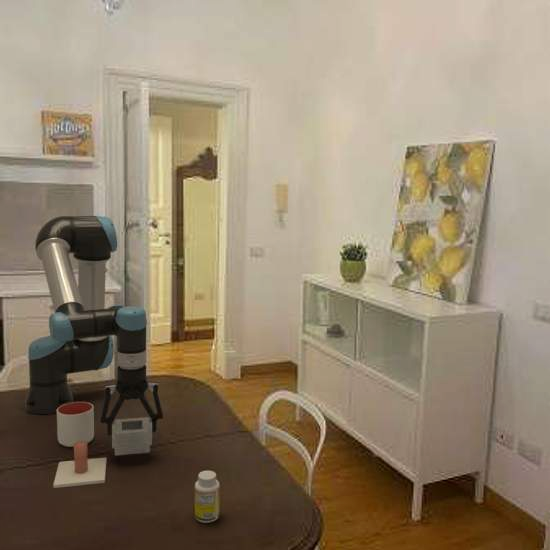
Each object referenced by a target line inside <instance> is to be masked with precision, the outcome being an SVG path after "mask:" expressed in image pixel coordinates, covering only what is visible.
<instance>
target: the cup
mask: <svg viewBox="0 0 550 550" xmlns="http://www.w3.org/2000/svg"><path fill="white" fill-rule="evenodd" d="M94 411H95V410H94V405H93V404H92V403H90V402H86V401H75V402H74V401H73V402H72V403H68V404H64V405H62V406H60V407H59V408H58V409H57V413H56V426H57V429H56V430H57V442H58V443H59V444H60V445H62V446H64V447H68V448H74V444H75V443H77V442H81V441H83V442H87V444H89V443H90V442H91V441H93V439H94V437H95V419H94V418H95V415H94Z"/></svg>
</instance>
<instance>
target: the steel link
mask: <svg viewBox="0 0 550 550" xmlns="http://www.w3.org/2000/svg"><path fill="white" fill-rule="evenodd" d="M149 418H150V416H149V417H146V416H145V417H134V418H132V417H131V418H120V419H119V418H118V419H117V418H115V419H114V421H115V448H114V456H124V455H125V456H126V455H135V454H149V453H151V445H150V427H149Z"/></svg>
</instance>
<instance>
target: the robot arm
mask: <svg viewBox="0 0 550 550" xmlns="http://www.w3.org/2000/svg"><path fill="white" fill-rule="evenodd" d="M34 247H35V252H36V256H37V257H38V259H39V260H40V261H41V262H42V266H43V270H44V274H45V277H46V282H47V286H48V290H49V294H50V298H51V302H52V306H53V311H54V313H51V314H50V315H49V319H48V328H49V335H47V336H43V337H39V338H37V339H35V340H33V341H32V342H31V343H30V344H29V345H28V355H27V359H28V368H29V369H28V370H29V371H28V373H29V374H28V376H29V387H28V391H27V394H26V397H25V401H24V410H25V411H26V412H27V413H30V414H33V415H51V414H57V409H58V408H59V407H60V406H62V405H64V404H68V403H72V402H74V395H73V393H72V390H71V388H70V386H69V384H68V383H69V382H68V375H70V374H76V373H77V374H78V373H84V372H91V371H99V370H103V369H107V368H108V367H109V366H111V364H112V362H113V359H114V353H115V347H114V345H115V344H114V343H115V342H114V339H113V337H112V336H116V357H117V358H116V359H117V360H116V364H117V367H116V368H117V371H116V372H117V373H116V374H117V375H116V377H117V381H116V384H114V385H110V384H106V386H105V389H104V391H105V398H104V402H103V406H102V410H101V415H100V424H106V425H107V435H108V436H109V437H110V436H111V443H112V444H111V448H112V449H115V420H116V417H117V415H118V413H119V411H120V409H121V407H122V405H123V404H124V403H125V400H126V401H129V400H139V401H140V403H142V406H143V407H144V409H145V411H146V412H147V415H148V416H149V427H150V446H152V445H153V433H156V432H157V422H158V420H162V419H163V418H164V414H163V413H164V412H163V410H162V409H163V407H162V404H161V400H160V397H159V393H158V392H159V384H158V382H156V381H155V382H153V383H152V382H151V383H150V382H148V381H147V365H146V364H147V323H148V320H147V313H146V310H145V309H144V308H143V307H141V306H140V307H139V306H134V305H131V306H123V305H121V304H113V305H110V306H108V307H107V308H105V306H106V271H107V270H106V268H107V267H106V265H107V262H108V261H109V260H111V257H112V253H114V252H116V251H117V250H118V249H117V248H118V237H117V231H116V228H115V225H114V222H113V220H112V219H111V218H110V217H108V216H101V215H100V216H99V215H69V216H67V215H60V216H57V217H53V218H52V219H50V220H49V221H48V222H46V223H45V224H43V226H42V227H41V228H40V230H39V232H38V233H37V235H36V238H35V245H34ZM70 254H73V258H74V259H75V261H76V262H78V263H77V265H78V266H77V267H78V269H77V270H78V271H77V272H78V273H77V274H78V275H77V278H78V279H76V276H75V273H74V269H73V265H72V262H71V258H70ZM147 389H149V391H150V392H151V393H152V396H153V400H154V404H155V409H156V411H157V413H156V412H155V411H154V409H153V407H152V406H151V404H150V402H149V400H148V399H147V396H146V394H145V393H146V391H147ZM115 391H117V392H118V394H119V396H118V399H117V400H116V403H115V404H114V407H112V410H111V412H110V414H109V415H108V410H109V406H110V402H111V399H112V398H111V397H112V396H111V395H113V394H114V392H115ZM107 415H108V416H107Z"/></svg>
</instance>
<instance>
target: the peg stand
mask: <svg viewBox="0 0 550 550" xmlns="http://www.w3.org/2000/svg"><path fill="white" fill-rule="evenodd" d="M73 456H74V458H73V459H74V460H66V461H65V460H64V461H63V460H62V461H59V463H58V465H57V470H56V473H55V478H54V481H53V489H57V488H67V487H68V488H69V487H76V486H77V487H78V486H79V487H80V486H85V485H87V486H88V485H95V484H105V482H106V472H107V457H98V458H88V443H87V442H83V441H81V442H77V443H75V444H74V447H73Z"/></svg>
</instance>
